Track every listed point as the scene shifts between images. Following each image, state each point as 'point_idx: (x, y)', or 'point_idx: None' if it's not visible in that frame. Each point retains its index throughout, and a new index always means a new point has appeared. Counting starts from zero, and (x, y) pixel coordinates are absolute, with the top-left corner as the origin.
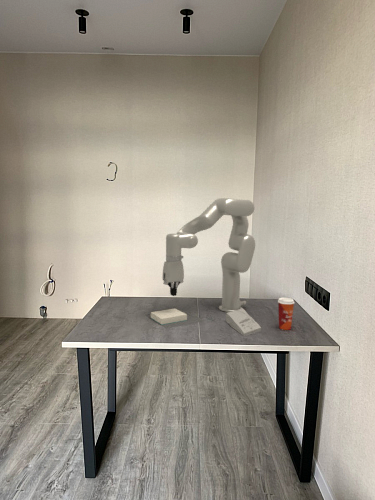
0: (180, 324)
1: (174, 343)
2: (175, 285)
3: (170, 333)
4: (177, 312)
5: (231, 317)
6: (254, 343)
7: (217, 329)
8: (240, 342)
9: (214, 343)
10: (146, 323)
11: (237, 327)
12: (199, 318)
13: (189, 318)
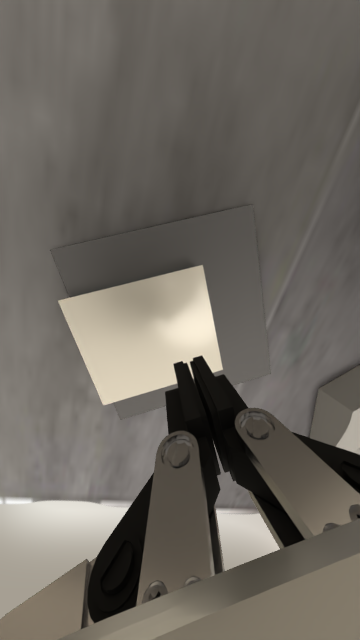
0: None
1: (125, 505)
2: (257, 499)
3: (129, 446)
4: (193, 335)
5: (341, 439)
6: None
7: None
8: None
9: (219, 508)
10: (52, 345)
11: None
12: (263, 348)
13: (230, 340)
